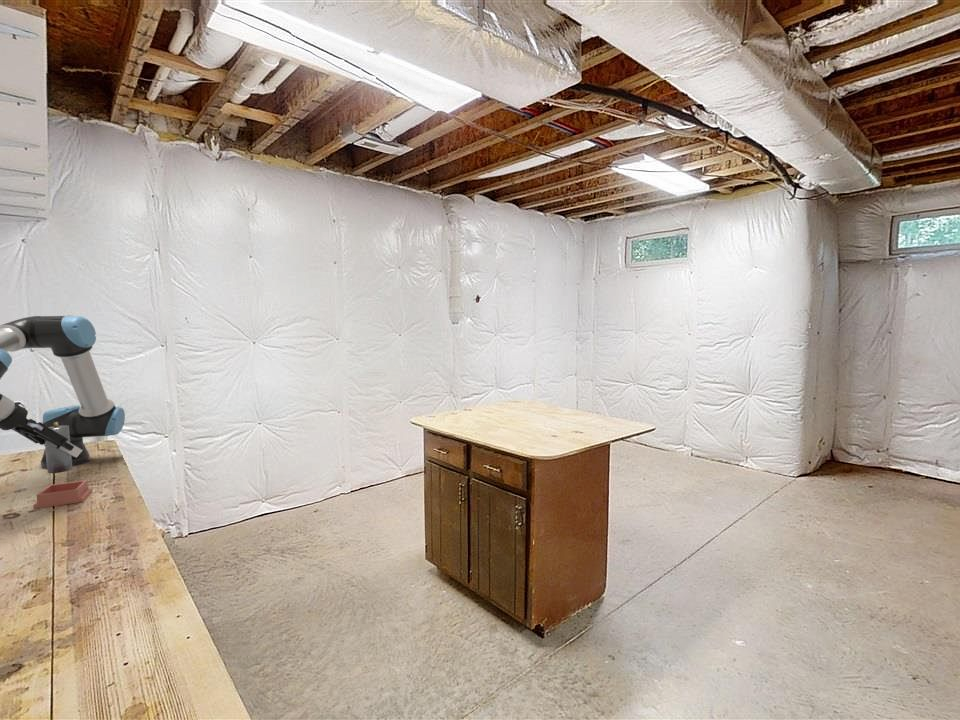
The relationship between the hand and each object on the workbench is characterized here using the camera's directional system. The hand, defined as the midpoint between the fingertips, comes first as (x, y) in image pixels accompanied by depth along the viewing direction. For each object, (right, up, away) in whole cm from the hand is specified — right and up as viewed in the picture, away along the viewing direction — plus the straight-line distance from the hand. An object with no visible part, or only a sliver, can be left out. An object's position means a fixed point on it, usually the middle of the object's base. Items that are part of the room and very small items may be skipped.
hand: (72, 452), depth 153 cm
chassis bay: (-1, -15, -2) cm, 15 cm away
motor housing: (-1, -5, -3) cm, 6 cm away
